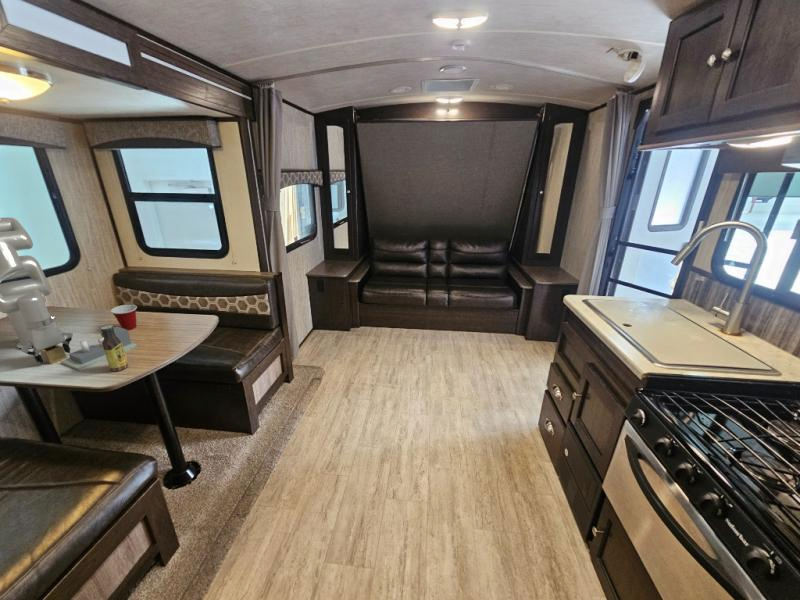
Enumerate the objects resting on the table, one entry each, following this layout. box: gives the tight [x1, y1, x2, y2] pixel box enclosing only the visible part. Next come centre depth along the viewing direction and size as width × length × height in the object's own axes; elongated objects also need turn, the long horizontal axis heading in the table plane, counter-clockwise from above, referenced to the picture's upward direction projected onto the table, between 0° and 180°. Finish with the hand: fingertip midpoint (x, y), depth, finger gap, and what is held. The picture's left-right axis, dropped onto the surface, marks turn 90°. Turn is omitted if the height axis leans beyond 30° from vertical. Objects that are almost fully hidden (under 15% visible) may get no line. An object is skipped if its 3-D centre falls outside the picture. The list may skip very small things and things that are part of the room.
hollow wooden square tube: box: [39, 344, 68, 365], centre depth 146 cm, size 6×6×6 cm
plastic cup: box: [110, 304, 138, 331], centre depth 175 cm, size 11×11×12 cm
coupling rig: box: [60, 326, 138, 372], centre depth 151 cm, size 14×23×9 cm, turn 157°
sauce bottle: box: [100, 325, 129, 372], centre depth 139 cm, size 6×6×20 cm
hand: (54, 357), depth 147 cm, fingers open, 8 cm apart
